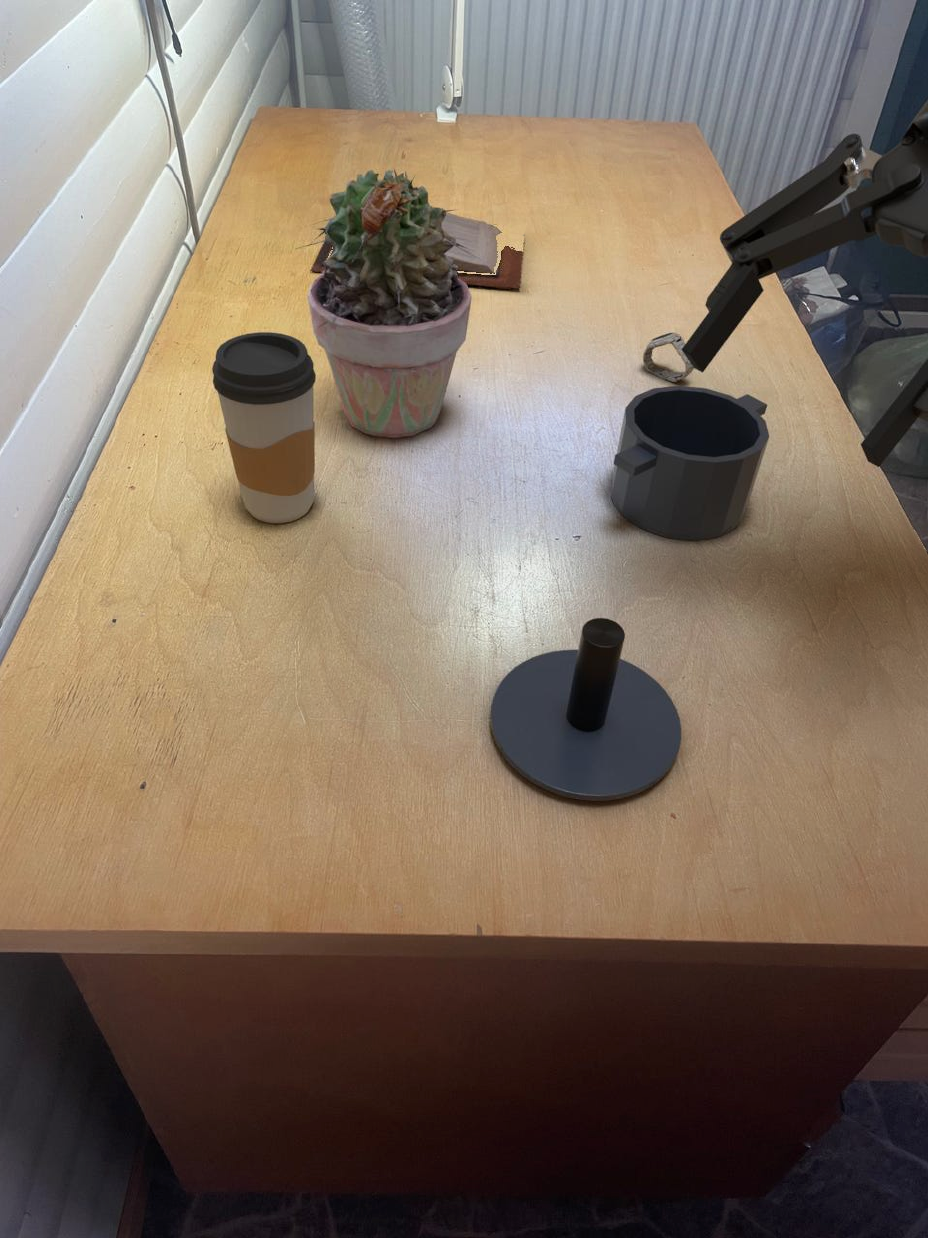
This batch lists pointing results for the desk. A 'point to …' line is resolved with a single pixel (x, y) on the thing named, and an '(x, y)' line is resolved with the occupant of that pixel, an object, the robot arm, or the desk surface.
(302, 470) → the coffee cup
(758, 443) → the pot
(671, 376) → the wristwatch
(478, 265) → the book
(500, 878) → the desk surface
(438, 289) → the potted plant
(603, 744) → the lid
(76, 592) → the desk surface
